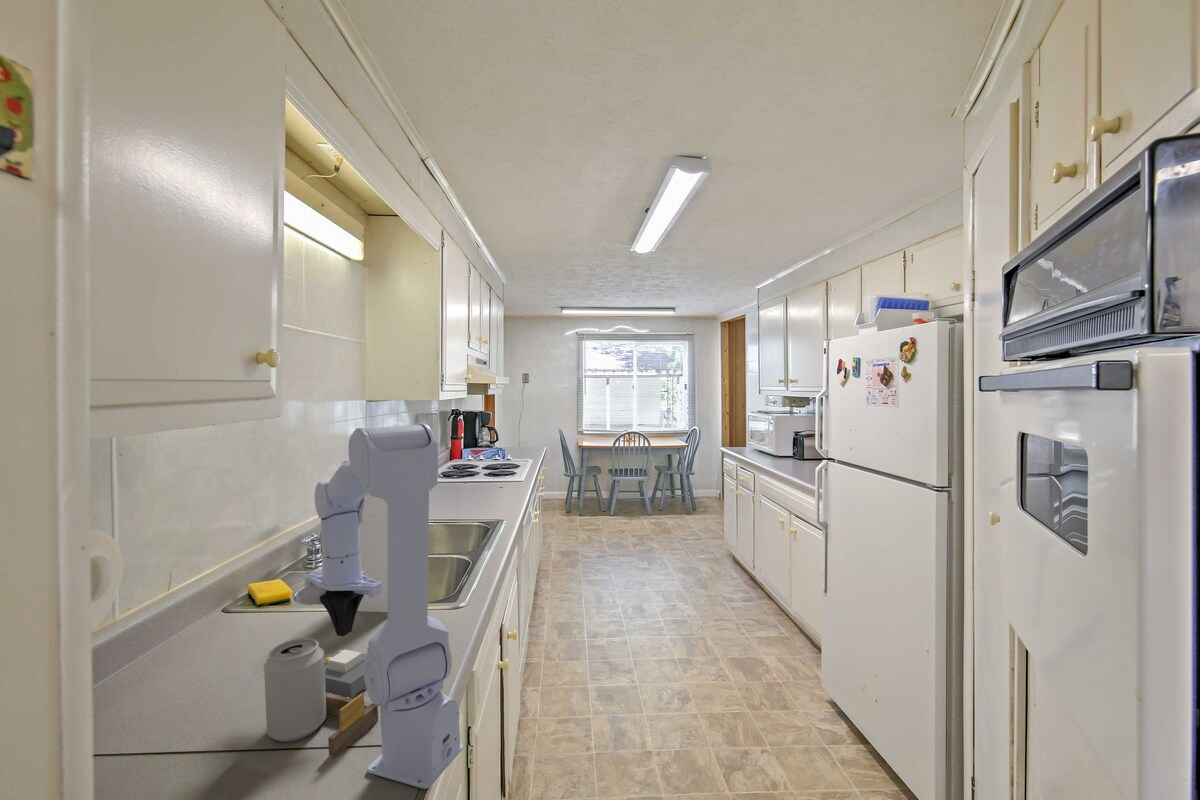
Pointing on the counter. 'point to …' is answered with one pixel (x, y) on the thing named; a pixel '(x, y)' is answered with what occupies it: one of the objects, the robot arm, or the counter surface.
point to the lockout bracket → (349, 720)
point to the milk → (374, 550)
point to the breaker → (345, 661)
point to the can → (295, 689)
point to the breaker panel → (345, 679)
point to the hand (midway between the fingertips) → (344, 633)
